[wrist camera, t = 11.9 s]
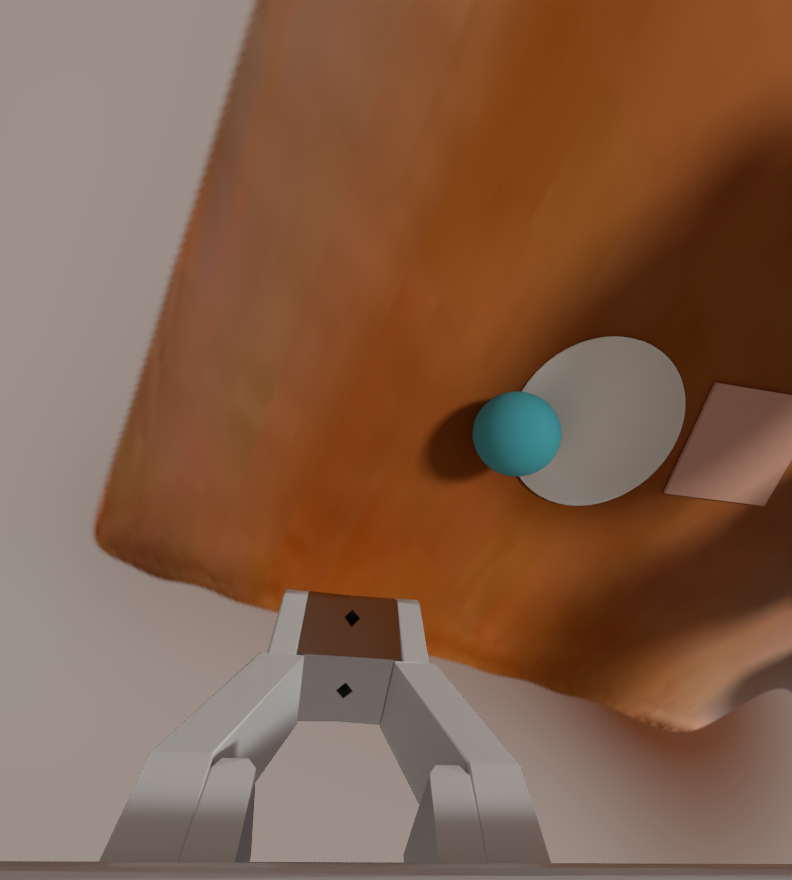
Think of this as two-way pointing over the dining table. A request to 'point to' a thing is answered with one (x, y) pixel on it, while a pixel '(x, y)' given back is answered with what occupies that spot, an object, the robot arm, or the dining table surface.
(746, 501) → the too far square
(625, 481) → the disc
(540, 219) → the dining table surface
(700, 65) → the dining table surface
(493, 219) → the dining table surface
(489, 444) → the ball
